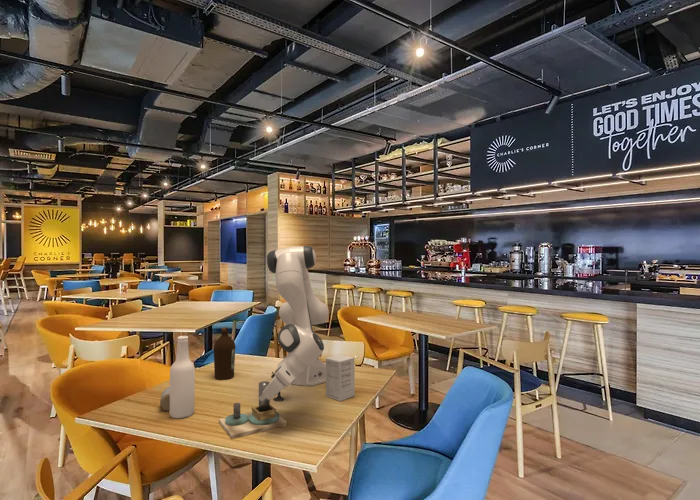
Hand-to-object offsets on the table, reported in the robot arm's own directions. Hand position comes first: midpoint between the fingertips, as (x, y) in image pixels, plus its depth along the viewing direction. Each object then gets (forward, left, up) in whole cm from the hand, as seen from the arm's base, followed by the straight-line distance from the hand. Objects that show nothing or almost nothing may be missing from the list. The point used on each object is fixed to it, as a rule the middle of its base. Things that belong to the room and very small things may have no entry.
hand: (262, 396), depth 145 cm
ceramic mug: (+25, -33, -10) cm, 42 cm away
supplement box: (-39, -8, -9) cm, 40 cm away
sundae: (-15, -19, -9) cm, 25 cm away
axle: (-1, 0, -6) cm, 6 cm away
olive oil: (-4, -63, -9) cm, 63 cm away
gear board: (+3, -1, -9) cm, 10 cm away
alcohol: (+23, -24, -9) cm, 35 cm away
